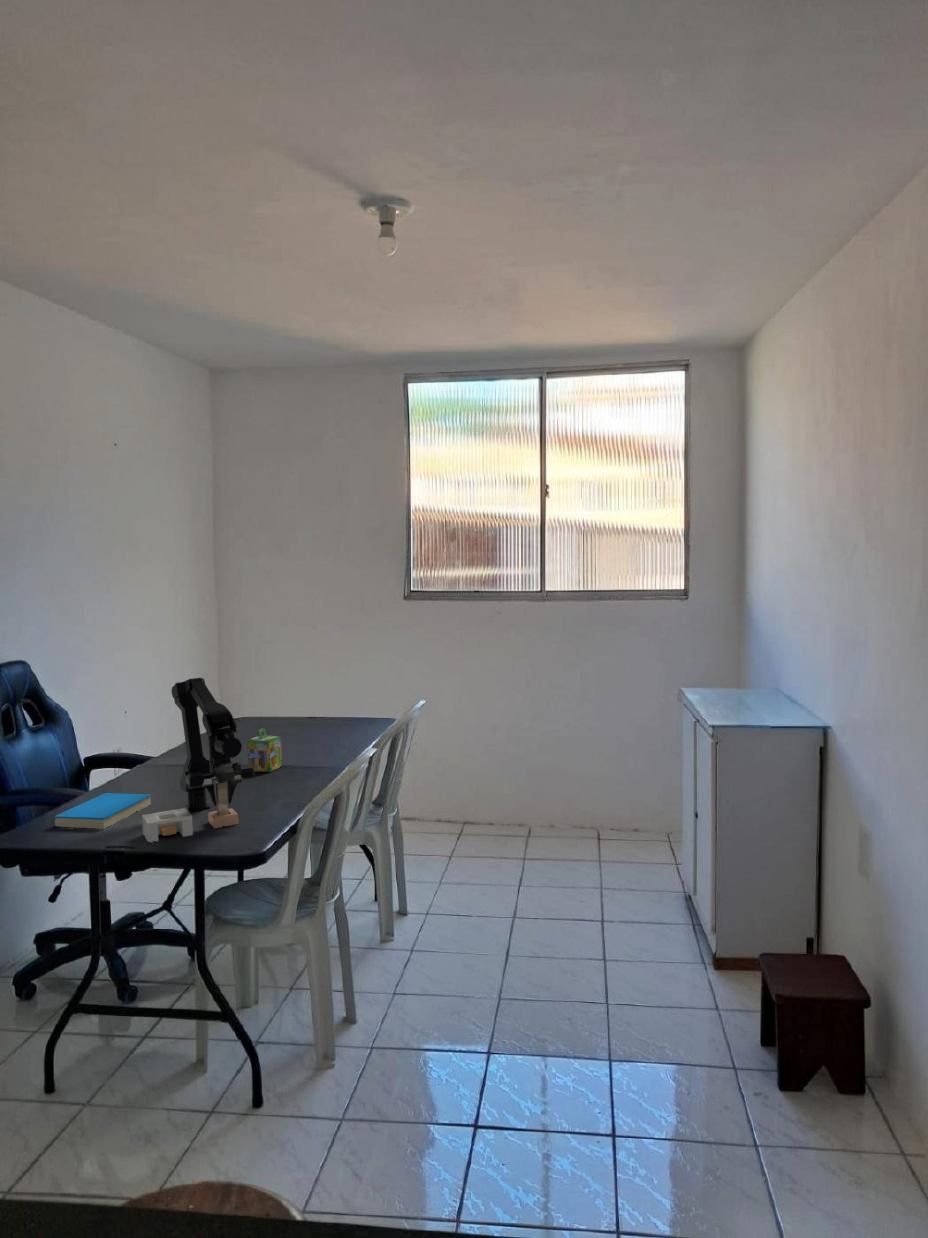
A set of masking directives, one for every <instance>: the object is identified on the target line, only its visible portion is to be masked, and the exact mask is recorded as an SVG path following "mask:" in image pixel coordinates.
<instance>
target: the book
mask: <svg viewBox="0 0 928 1238" xmlns="http://www.w3.org/2000/svg"><path fill="white" fill-rule="evenodd" d="M151 797H152V794H151V793H149V794H147V793H146V794H145V793H144V794H142V793H140V794H139V793H115V792H114V793H113V792H112V793H111V792H110V793H107V792H105V793H102V794H100V795H98V796H96V797H93V798H92V799H90V800H87V801H85V802H82V803H80V804H78V805H76V806H74V807H72V808H70V809H68V810H65V811H63V812H61V813H59V814H57V815H54V819H53V827H54V826H62V827H86V828H99V829H98V830H102V829H104V830H106V829H107V828H106V827H108V826H110V827H112V826H113V824H114V825H116V824H117V823H116V822H118V821H120V820H121V819H123V818H125V819H127V818H129V817H131V816H132V815H131V814H133V813H135V812H136V811H139V812H141V811H142V810H141V809H143V808H145V807H147V806H148V805H150V804H151V805H152V800H151ZM147 808H148V807H147ZM145 809H146V808H145ZM140 810H141V811H140ZM143 810H144V809H143ZM135 814H136V813H135ZM130 815H131V816H130ZM133 815H134V814H133ZM128 816H129V817H128ZM126 817H127V818H126ZM123 820H124V819H123ZM120 822H121V821H120ZM115 823H116V824H115ZM118 823H119V822H118ZM111 825H112V826H111ZM105 828H106V829H105ZM108 828H109V827H108Z"/></svg>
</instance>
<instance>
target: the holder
mask: <svg viewBox="0 0 928 1238" xmlns="http://www.w3.org/2000/svg"><path fill="white" fill-rule="evenodd" d="M207 814H208V815H207V816H208V818H207V819H208V823H209V825H211V827H212V826H213V827H212V828H213V829H218V828H224V827H223V826H225V827H231V826H235V825H236V826H237V825H239V814H238V812H236V810H235V809H233V808H232V807H231V808H228V814H226V815H220V816H217V810H214V811H208V812H207Z"/></svg>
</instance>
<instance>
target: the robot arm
mask: <svg viewBox="0 0 928 1238" xmlns="http://www.w3.org/2000/svg"><path fill="white" fill-rule="evenodd" d="M171 697H172V698H173V699H174V704H175V705H176V707H178V709H179V710H180V711H181V719H182V724H183V733H184V741H185V748H186V757H187V758H186V760H185V762H184V765H183V767H182V768H183V769H182V770H183V773H182V776H181V778H180V781H179V786H180V790H181V791H183V792H185V793H186V795H187V804H185V805H184V808H186V809H187V810H188V812H194V811H201V810H207V809H210V808H211V806H210V804H208V801H207V800H208V799H207V797H208V796H207V795H209V797H210V799H211V802H212V804H213V806H214V807H217V801H216V791H215V784H214V781H215V780H216V781H217V782H219V783H224V782H226V783H227V799H228V805H231V803H232V799H233V796H234V794H235V789H236V788H237V786H238V785H239V783H242V782H243V780H242V778H243V779H245V780H246V779H253V778H255V777H256V772H255V771H254V769H253V768H252V767H251V766H249V764H245V765H244V764H243V765H242V764H241V762H233V763H232V761H231V760H232V759H231V758H236V757H238V756H239V754H241V751H242V748H243V746H242V742H241V741H240V739H238V738H237V737H235V733H237V723H236V721H235V719H234V716H233V714H232V712H231V711H230V710H229V708H228V707H227V706H225V705H224V704H223V703H219V702H218V701H217V700H216V699H215V697H214V696H213V694H212V693H211V691H210V689H209V688H208V687H207V685H206V681H205V679H204V678H203V677H195V678H188V679H186V680H184V681H181V682H175V683H174V685H173V686H172V687H171ZM198 708H199V709H200V710H201V712H202V717H201V721H202V724H203V727H204V729H205V730H206V735H207V739H208V740H207V742H208V759H207V758H206V757H205V756H204V751H203V745H202V743H203V742H202V736H201V727H200V722H199V721H200V719H199V713H198ZM207 792H208V794H207Z"/></svg>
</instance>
